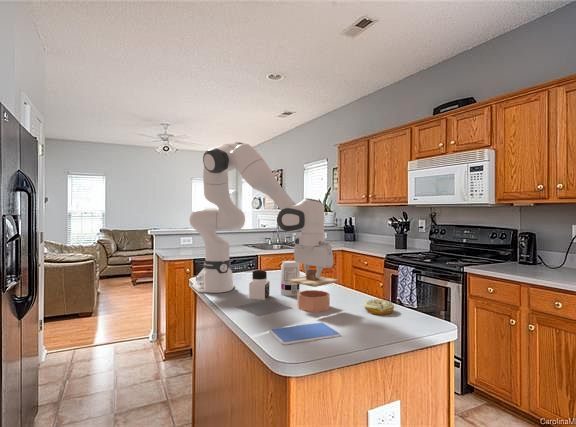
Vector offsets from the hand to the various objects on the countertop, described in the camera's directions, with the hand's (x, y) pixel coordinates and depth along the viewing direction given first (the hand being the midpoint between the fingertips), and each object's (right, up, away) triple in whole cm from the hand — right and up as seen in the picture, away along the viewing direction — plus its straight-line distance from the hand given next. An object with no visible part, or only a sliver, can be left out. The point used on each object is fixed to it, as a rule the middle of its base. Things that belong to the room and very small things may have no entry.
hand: (312, 276), depth 134 cm
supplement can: (-8, -12, +22) cm, 27 cm away
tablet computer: (-4, -14, -26) cm, 30 cm away
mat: (-19, -12, 0) cm, 23 cm away
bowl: (0, -12, +1) cm, 12 cm away
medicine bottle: (-22, -12, +16) cm, 30 cm away
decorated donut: (+25, -13, -2) cm, 28 cm away
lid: (0, -2, 0) cm, 2 cm away
